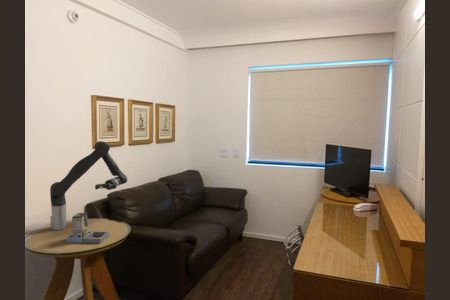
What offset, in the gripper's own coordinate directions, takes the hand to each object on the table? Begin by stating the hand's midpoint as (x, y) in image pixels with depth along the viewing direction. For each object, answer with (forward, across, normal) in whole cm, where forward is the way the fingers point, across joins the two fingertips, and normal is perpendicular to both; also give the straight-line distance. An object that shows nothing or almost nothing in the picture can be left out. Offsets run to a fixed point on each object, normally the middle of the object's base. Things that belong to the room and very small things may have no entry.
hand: (101, 188), depth 215 cm
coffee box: (+18, -6, +30) cm, 36 cm away
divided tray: (+19, 0, +30) cm, 35 cm away
